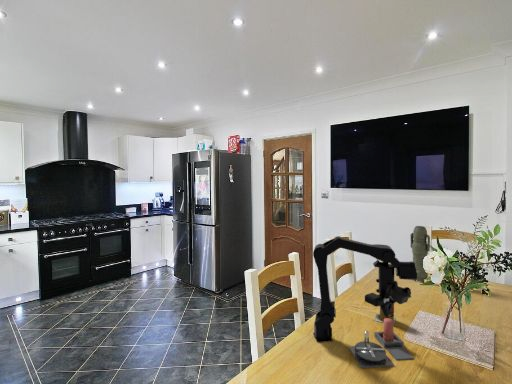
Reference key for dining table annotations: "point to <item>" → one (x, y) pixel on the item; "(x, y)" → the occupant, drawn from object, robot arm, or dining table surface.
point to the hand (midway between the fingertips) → (386, 316)
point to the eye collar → (388, 344)
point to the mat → (400, 353)
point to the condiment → (381, 316)
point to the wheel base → (370, 364)
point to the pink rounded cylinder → (388, 330)
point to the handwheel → (370, 350)
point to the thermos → (420, 250)
